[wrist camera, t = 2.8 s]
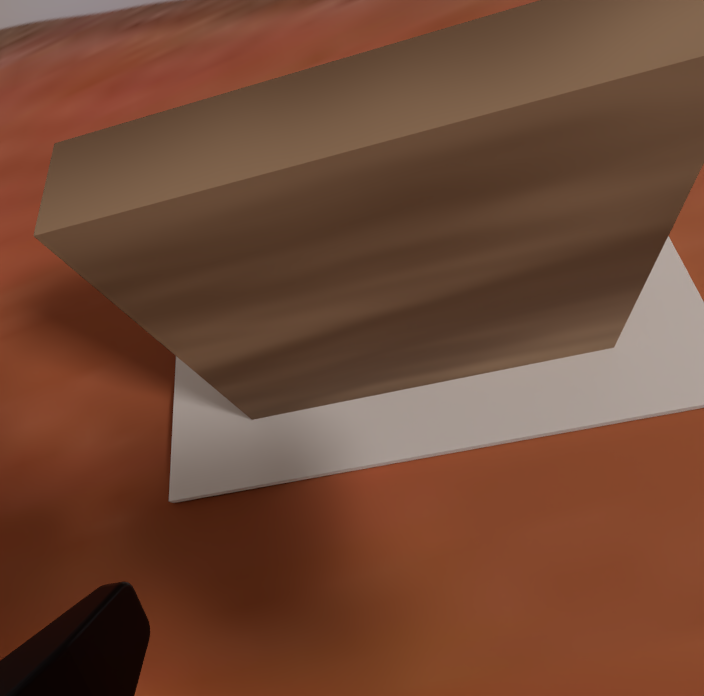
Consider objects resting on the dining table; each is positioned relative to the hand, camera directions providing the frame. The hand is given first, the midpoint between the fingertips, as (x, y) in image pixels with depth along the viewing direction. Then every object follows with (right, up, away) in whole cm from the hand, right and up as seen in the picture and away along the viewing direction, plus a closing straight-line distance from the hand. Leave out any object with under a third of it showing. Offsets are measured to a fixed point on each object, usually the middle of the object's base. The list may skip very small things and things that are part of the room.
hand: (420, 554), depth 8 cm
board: (+1, +3, +10) cm, 11 cm away
